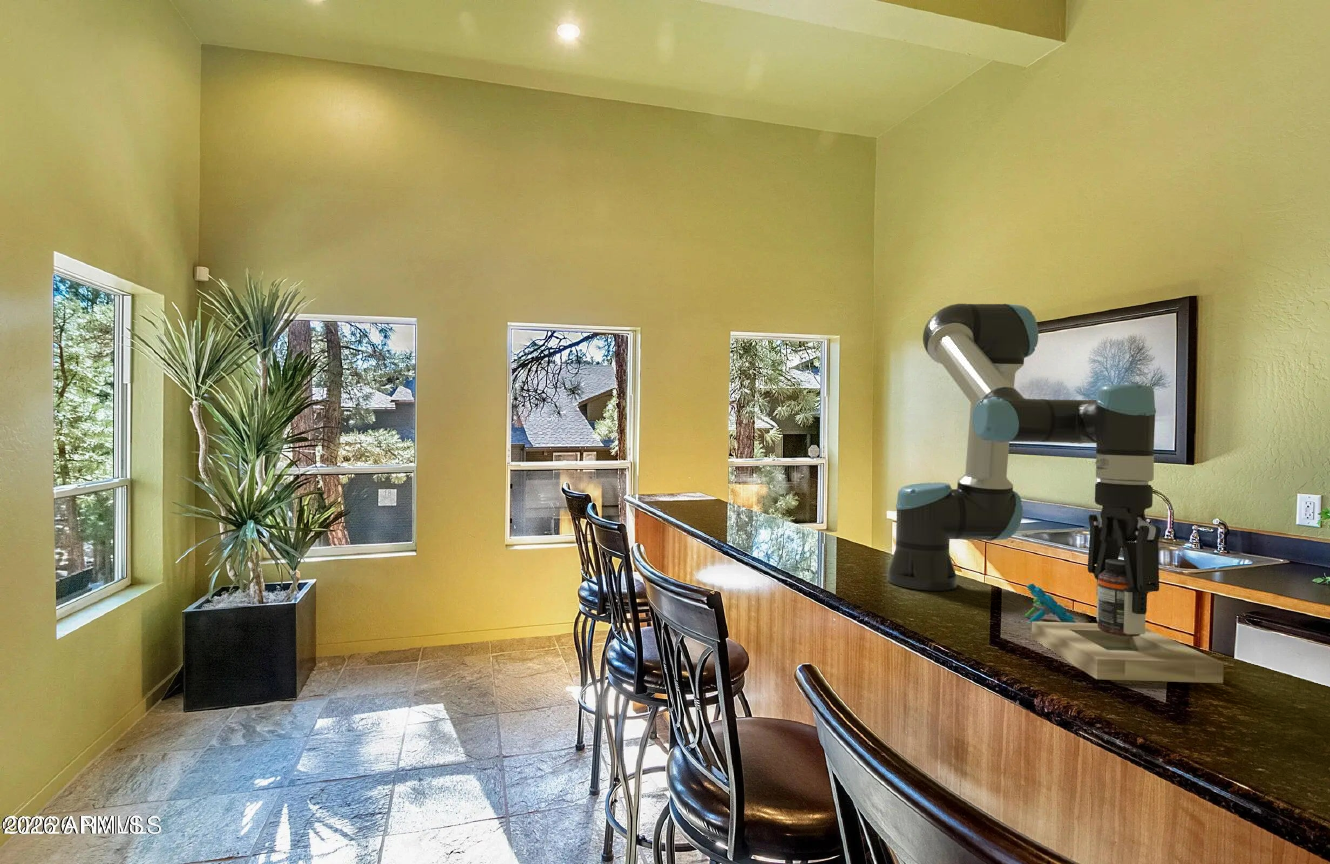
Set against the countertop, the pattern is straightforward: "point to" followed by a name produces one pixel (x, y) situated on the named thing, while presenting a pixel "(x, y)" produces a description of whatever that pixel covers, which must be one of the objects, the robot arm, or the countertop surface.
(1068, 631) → the socket holder
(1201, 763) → the countertop surface
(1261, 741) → the countertop surface
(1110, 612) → the supplement bottle
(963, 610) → the countertop surface
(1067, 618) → the gear
